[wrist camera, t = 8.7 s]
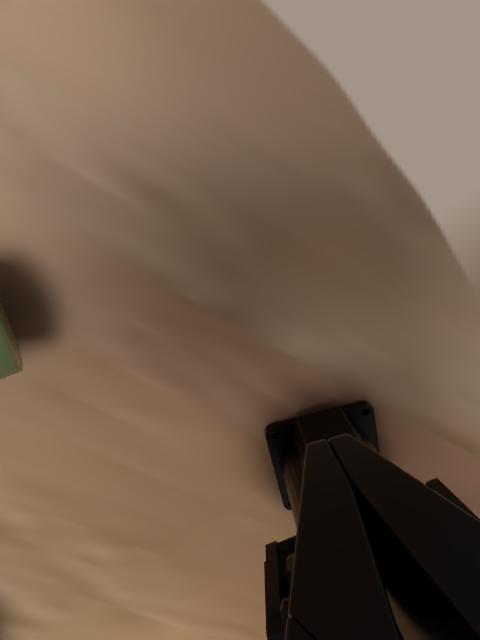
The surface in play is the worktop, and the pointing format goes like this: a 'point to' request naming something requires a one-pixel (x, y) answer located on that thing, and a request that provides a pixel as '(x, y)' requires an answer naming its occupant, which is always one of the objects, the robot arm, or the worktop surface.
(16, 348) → the bottle
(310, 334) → the worktop surface
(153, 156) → the worktop surface
